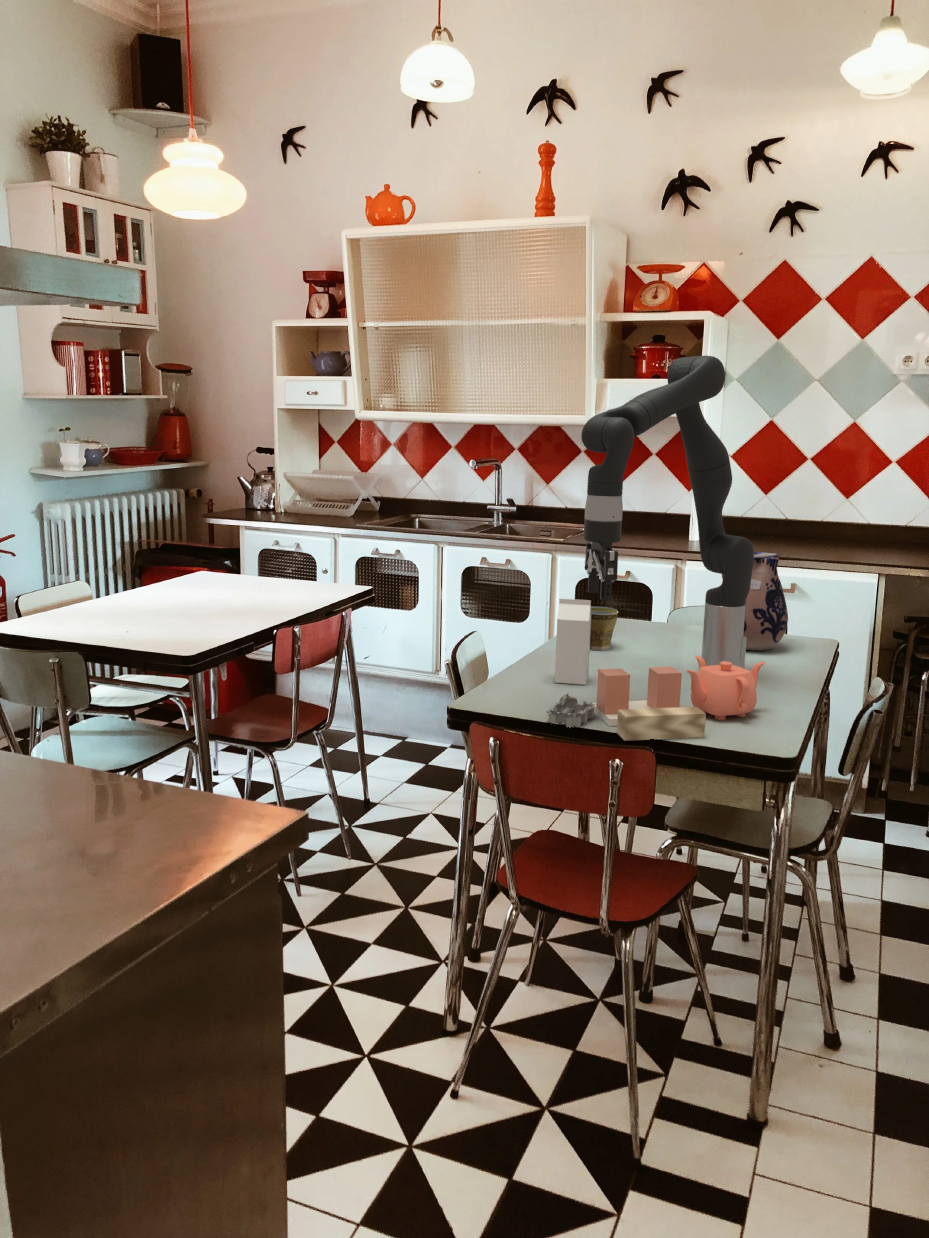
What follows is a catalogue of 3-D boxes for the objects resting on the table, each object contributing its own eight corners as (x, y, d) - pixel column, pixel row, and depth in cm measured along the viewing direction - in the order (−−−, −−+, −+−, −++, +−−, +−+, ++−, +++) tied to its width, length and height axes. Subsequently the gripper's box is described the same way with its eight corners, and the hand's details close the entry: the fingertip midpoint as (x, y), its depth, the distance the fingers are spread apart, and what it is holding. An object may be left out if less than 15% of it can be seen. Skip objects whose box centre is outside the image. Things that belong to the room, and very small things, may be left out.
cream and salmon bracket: (663, 706, 208) (665, 662, 206) (684, 722, 197) (688, 676, 195) (591, 709, 205) (593, 665, 203) (609, 726, 194) (611, 680, 192)
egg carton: (566, 711, 205) (567, 692, 204) (599, 717, 201) (600, 698, 200) (542, 723, 196) (542, 704, 195) (575, 730, 192) (576, 710, 191)
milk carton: (585, 685, 223) (589, 603, 219) (554, 683, 224) (557, 601, 220) (588, 677, 230) (592, 597, 226) (558, 675, 231) (561, 595, 227)
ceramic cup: (624, 649, 257) (626, 611, 255) (595, 654, 252) (597, 615, 250) (591, 639, 268) (592, 603, 266) (563, 643, 262) (564, 606, 260)
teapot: (682, 719, 200) (685, 666, 198) (692, 700, 213) (695, 651, 211) (756, 728, 195) (760, 674, 192) (761, 708, 208) (765, 658, 206)
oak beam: (694, 731, 193) (696, 706, 192) (704, 738, 189) (705, 713, 188) (616, 734, 190) (618, 709, 189) (624, 741, 186) (625, 716, 185)
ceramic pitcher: (759, 658, 250) (767, 561, 245) (692, 642, 266) (699, 551, 261) (798, 649, 261) (807, 555, 255) (732, 634, 277) (739, 546, 271)
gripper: (632, 521, 192) (628, 603, 196) (610, 514, 206) (605, 590, 209) (596, 521, 191) (591, 603, 194) (575, 514, 205) (571, 590, 208)
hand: (599, 596), depth 202 cm, fingers open, 8 cm apart
